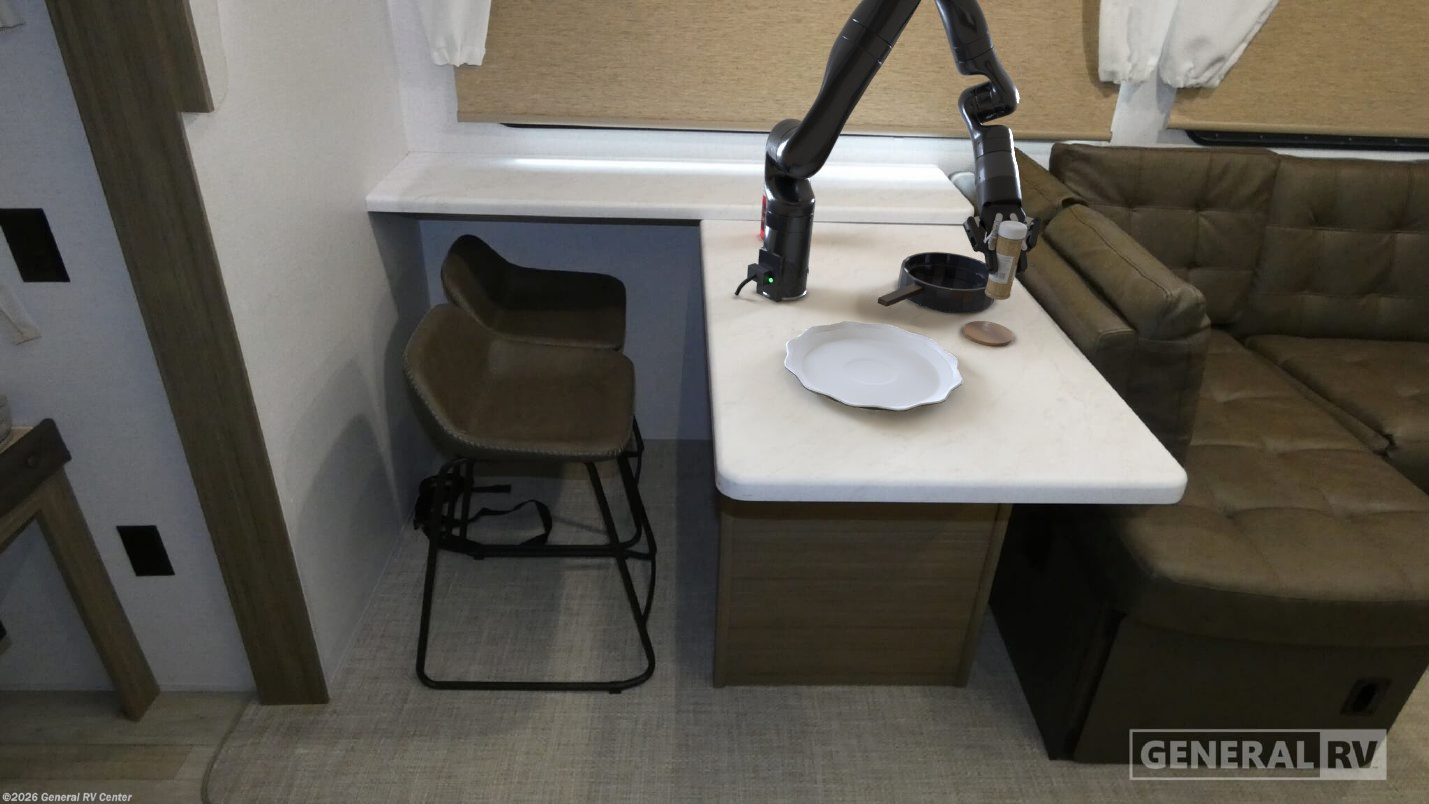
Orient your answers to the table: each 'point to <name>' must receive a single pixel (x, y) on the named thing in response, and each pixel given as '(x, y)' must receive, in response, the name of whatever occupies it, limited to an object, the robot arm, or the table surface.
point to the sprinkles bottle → (1006, 259)
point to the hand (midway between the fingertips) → (1007, 272)
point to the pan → (947, 281)
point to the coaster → (988, 333)
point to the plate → (872, 366)
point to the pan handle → (900, 295)
